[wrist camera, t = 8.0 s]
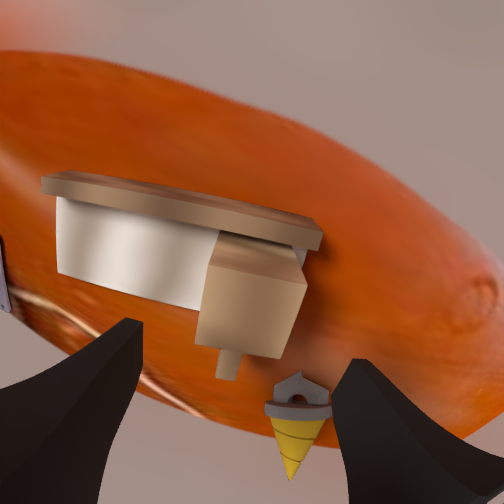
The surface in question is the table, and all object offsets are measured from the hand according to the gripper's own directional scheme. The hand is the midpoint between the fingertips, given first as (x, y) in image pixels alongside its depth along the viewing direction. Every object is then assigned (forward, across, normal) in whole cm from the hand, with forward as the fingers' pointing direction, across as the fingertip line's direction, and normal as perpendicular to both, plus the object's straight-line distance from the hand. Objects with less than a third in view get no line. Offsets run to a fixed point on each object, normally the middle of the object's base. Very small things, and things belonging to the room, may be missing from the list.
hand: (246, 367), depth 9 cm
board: (+9, +5, 0) cm, 10 cm away
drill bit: (+10, -7, +12) cm, 17 cm away
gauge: (+8, 0, +2) cm, 8 cm away
